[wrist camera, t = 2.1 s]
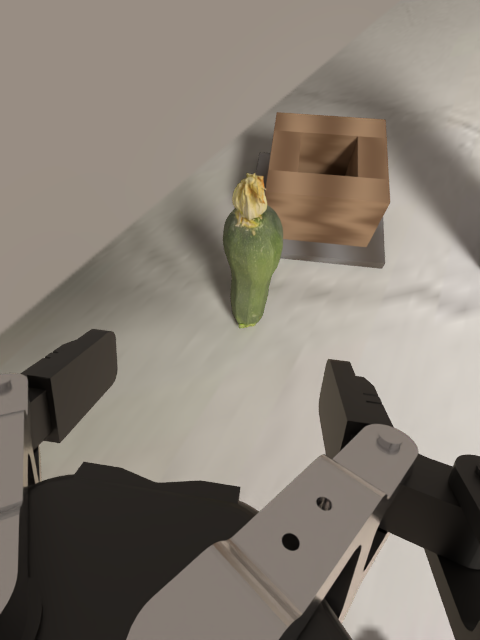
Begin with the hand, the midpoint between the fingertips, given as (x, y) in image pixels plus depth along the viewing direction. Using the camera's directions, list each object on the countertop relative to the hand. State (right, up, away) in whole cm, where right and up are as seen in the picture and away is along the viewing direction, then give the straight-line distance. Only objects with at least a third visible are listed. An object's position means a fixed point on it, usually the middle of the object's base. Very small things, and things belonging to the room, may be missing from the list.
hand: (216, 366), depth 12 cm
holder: (+10, +16, +29) cm, 35 cm away
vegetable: (+2, +2, +24) cm, 24 cm away
